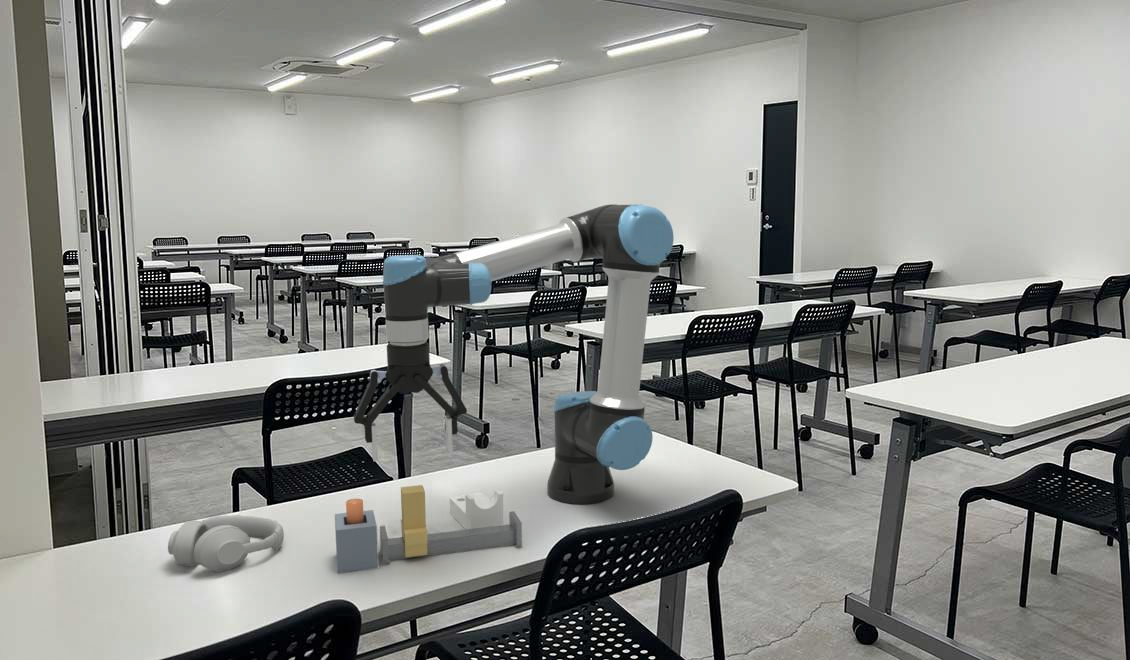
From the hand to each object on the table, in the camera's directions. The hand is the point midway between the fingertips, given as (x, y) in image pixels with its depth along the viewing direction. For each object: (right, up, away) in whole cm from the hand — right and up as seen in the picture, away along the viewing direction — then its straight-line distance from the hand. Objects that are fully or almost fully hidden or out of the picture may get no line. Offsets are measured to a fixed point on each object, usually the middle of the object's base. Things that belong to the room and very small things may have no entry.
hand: (412, 455), depth 154 cm
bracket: (+10, -17, +20) cm, 27 cm away
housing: (-10, -19, 0) cm, 22 cm away
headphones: (-35, -19, +3) cm, 40 cm away
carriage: (0, -19, +3) cm, 19 cm away
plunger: (-10, -13, -1) cm, 17 cm away
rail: (+6, -19, +5) cm, 20 cm away
